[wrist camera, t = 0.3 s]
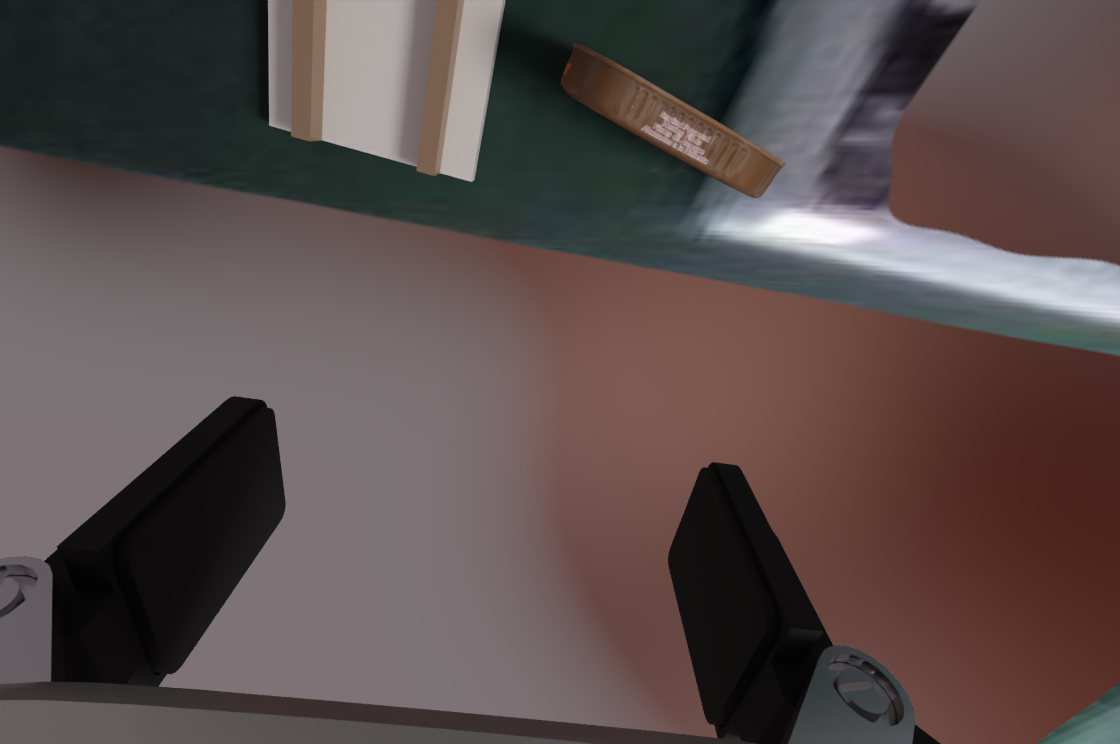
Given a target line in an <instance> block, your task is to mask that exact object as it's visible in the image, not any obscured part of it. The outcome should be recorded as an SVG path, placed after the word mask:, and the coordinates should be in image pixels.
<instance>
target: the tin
mask: <svg viewBox="0 0 1120 744" xmlns="http://www.w3.org/2000/svg"><path fill="white" fill-rule="evenodd" d="M561 85H562V86H563V88H564V90H565V91H566V92H567V94H568V95H570V96H571V97H572V98H574V99H575V100H577V101H578V102H580V103H582V104H583V105H585V106H586V107H588V108H590V109H592V110H593V111H595V112H597V113H598V114H600V115H602V116H604V117H605V118H607V119H609V120H610V121H612V122H614V123H616V124H617V125H619V126H621V127H623V128H624V129H626V130H628V131H630V132H631V133H633V134H635V135H637V136H638V137H640V138H642V139H644V140H646V141H647V142H649V143H651V144H653V145H654V146H656V147H658V148H660V149H661V150H663V151H665V152H667V153H668V154H670V155H672V156H674V157H676V158H677V159H679V160H681V161H683V162H685V163H687V164H689V165H690V166H692V167H694V168H696V169H698V170H700V171H702V172H704V173H706V174H707V175H709V176H711V177H713V178H715V179H717V180H719V181H720V182H722V183H724V184H726V185H728V186H730V187H732V188H734V189H736V190H738V191H740V192H742V193H744V194H746V195H748V196H750V197H753V198H759V197H761V196H762V194H763V193H764V192H765V191H766V189H767V188H768V186H769V185H770V183H771V182H772V180H773V179H774V177H775V176H776V174H777V173H778V171H779V170H780V169H781V168H782V167H783V166H785V162H783V161H782V160H781V159H779V158H777V157H776V156H774V155H773V154H771V153H770V152H768V151H767V150H765V149H763V148H762V147H760V146H758V145H757V144H755V143H753V142H751V141H750V140H748V139H746V138H745V137H743V136H741V135H739V134H738V133H736V132H734V131H733V130H731V129H729V128H727V127H726V126H724V125H722V124H721V123H719V122H717V121H716V120H714V119H712V118H710V117H708V116H707V115H705V114H703V113H702V112H700V111H698V110H697V109H695V108H693V107H691V106H690V105H688V104H686V103H685V102H683V101H681V100H679V99H678V98H676V97H674V96H673V95H671V94H669V93H667V92H666V91H664V90H662V89H660V88H659V87H657V86H656V85H654V84H652V83H650V82H649V81H647V80H645V79H644V78H642V77H640V76H639V75H637V74H635V73H633V72H632V71H630V70H628V69H626V68H624V67H623V66H621V65H619V64H617V63H615V62H614V61H612V60H610V59H608V58H606V57H604V56H603V55H600V54H599V53H597V52H595V51H593V50H591V49H589V48H587V47H585V46H583V45H581V44H578V43H574V44H573V51H572V53H571V56H570V58H569V61H568V63H567V65H566V68H565V70H564V73H563V75H562V78H561Z"/></svg>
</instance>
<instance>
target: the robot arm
mask: <svg viewBox="0 0 1120 744" xmlns="http://www.w3.org/2000/svg"><path fill="white" fill-rule="evenodd" d="M284 511H285V495H284V487H283V478H282V470H281V462H280V454H279V446H278V438H277V429H276V421H275V414H274V411H273V410H272V409H271V408H267V405H266V403H265V402H264V401H262V400H258V399H251V398H243V397H236V396H234V397H230V398H229V399H227V400H226V401H225V402H224V403H223V404H221V405H220V406H219V407H218V408H217V409H216V410H214V411H213V412H212V413H211V414H210V415H209V416H208V417H206V418H205V419H204V420H203V421H202V422H201V423H199V424H198V425H197V426H196V427H195V428H194V429H192V430H191V431H190V432H189V433H188V434H187V435H185V436H184V437H183V438H182V439H181V440H180V441H179V442H177V443H176V444H175V445H174V446H173V447H172V448H170V449H169V450H168V451H167V452H166V453H165V454H163V455H162V456H161V457H160V458H159V459H158V460H157V461H155V462H154V463H153V464H152V465H151V466H150V467H148V468H147V469H146V470H145V471H144V472H143V473H141V474H140V475H139V476H138V477H137V478H136V479H134V480H133V481H132V482H131V483H130V484H129V485H128V486H127V487H125V488H124V489H123V490H122V491H121V492H119V493H118V494H117V495H116V496H115V497H114V498H112V499H111V500H110V501H109V502H108V503H107V504H106V505H105V506H103V507H102V508H101V509H100V510H99V511H97V512H96V513H95V514H94V515H93V516H92V517H90V518H89V519H88V520H87V521H86V522H85V523H83V524H82V525H81V526H80V527H79V528H78V529H77V530H75V531H74V532H73V533H72V534H71V535H70V536H69V537H67V538H66V539H65V540H64V541H63V542H62V543H60V544H59V545H58V546H57V548H58V549H57V550H56V551H55V552H54V553H53V554H52V555H50V557H48V558H47V559H46V560H45V561H42V560H41V559H37V558H32V557H27V556H24V557H6V558H2V559H0V744H940V743H938V741H936V740H935V739H934V738H932V737H931V736H929V735H928V734H927V733H926V732H924V731H923V730H922V729H920V728H919V727H918V726H917V725H915V715H914V708H913V706H912V703H911V701H910V698H909V696H908V694H907V693H906V691H905V690H904V688H903V687H902V685H901V684H900V682H899V681H898V680H897V679H896V678H895V676H894V675H893V674H891V672H889V670H888V669H887V668H886V667H885V666H883V665H882V664H881V663H879V662H878V661H877V660H876V659H874V658H873V657H871V656H869V655H868V654H866V653H864V652H862V651H860V650H858V649H855V648H851V647H848V646H842V645H841V646H840V645H833V644H832V642H831V640H830V639H829V637H828V635H827V633H826V631H825V629H824V627H823V625H822V623H821V621H820V619H819V617H818V615H817V613H816V611H815V609H814V607H813V605H812V604H811V602H810V600H809V598H808V596H807V594H806V592H805V590H804V588H803V586H802V584H801V582H800V580H799V578H798V576H797V575H796V572H795V571H794V569H793V567H792V565H791V563H790V561H789V559H788V557H787V555H786V553H785V551H784V549H783V547H782V545H781V543H780V541H779V539H778V538H777V536H776V535H775V534H774V532H773V531H772V529H771V527H770V525H769V523H768V521H767V519H766V517H765V515H764V513H763V511H762V510H761V508H760V506H759V504H758V502H757V500H756V498H755V496H754V494H753V492H752V490H751V488H750V486H749V484H748V482H747V480H746V478H745V476H744V474H743V472H742V471H741V469H740V467H739V466H737V465H729V464H723V463H715V462H713V463H711V464H710V465H709V467H708V468H702V469H701V470H700V472H699V475H698V477H697V480H696V483H695V485H694V488H693V491H692V493H691V496H690V498H689V501H688V503H687V506H686V509H685V511H684V514H683V517H682V519H681V522H680V524H679V527H678V529H677V532H676V535H675V537H674V540H673V542H672V545H671V548H670V551H669V556H668V565H669V570H670V574H671V578H672V582H673V586H674V590H675V595H676V599H677V603H678V607H679V611H680V616H681V619H682V624H683V628H684V632H685V636H686V640H687V644H688V649H689V653H690V657H691V661H692V665H693V669H694V673H695V677H696V682H697V685H698V690H699V694H700V698H701V702H702V706H703V711H704V714H705V717H706V720H707V722H708V723H709V724H714V725H715V729H716V733H717V737H718V738H710V737H702V736H693V735H685V734H676V733H668V732H659V731H648V730H639V729H629V728H618V727H608V726H597V725H587V724H576V723H567V722H556V721H546V720H535V719H525V718H514V717H503V716H492V715H482V714H471V713H460V712H450V711H439V710H427V709H417V708H406V707H394V706H383V705H372V704H361V703H350V702H339V701H326V700H315V699H303V698H292V697H280V696H268V695H256V694H245V693H232V692H221V691H209V690H198V689H183V688H169V687H158V686H159V685H160V683H161V682H162V681H163V679H164V678H165V676H166V675H167V674H173V673H175V672H176V671H177V670H178V669H179V668H180V667H181V666H182V665H183V663H184V662H185V660H186V659H187V657H188V656H189V654H190V653H191V651H192V650H193V649H194V647H195V646H196V644H197V643H198V641H199V640H200V638H201V637H202V635H203V634H204V633H205V631H206V629H207V628H208V627H209V625H210V624H211V622H212V621H213V619H214V618H215V616H216V615H217V613H218V612H219V611H220V609H221V608H222V606H223V605H224V603H225V602H226V600H227V599H228V597H229V596H230V594H231V593H232V591H233V590H234V589H235V587H236V586H237V584H238V583H239V581H240V580H241V578H242V577H243V575H244V574H245V572H246V571H247V569H248V568H249V567H250V565H251V564H252V562H253V561H254V559H255V558H256V556H257V555H258V553H259V552H260V550H261V549H262V548H263V546H264V545H265V543H266V542H267V540H268V539H269V537H270V536H271V534H272V533H273V531H274V530H275V528H276V527H277V525H278V524H279V522H280V521H281V519H282V517H283V515H284Z"/></svg>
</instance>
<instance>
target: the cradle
mask: <svg viewBox="0 0 1120 744" xmlns="http://www.w3.org/2000/svg"><path fill="white" fill-rule="evenodd" d="M504 6H505V0H268V43H269V126H273V127H276V128H280V129H284V130H287V131H291V136H292V137H296V138H299V139H303V140H307V141H319V140H323V141H327V142H330V143H334V144H337V145H341V146H345V147H348V148H352V149H355V150H359V151H363V152H366V153H370V154H373V155H377V156H381V157H384V158H388V159H391V160H395V161H399V162H402V163H406V164H409V165H413V166H417V171H418V172H422V173H426V174H429V175H433V176H435V175H437V174H439V173H442V174H445V175H449V176H453V177H456V178H460V179H463V180H467V181H470V182H472V181H474V179H475V173H476V167H477V162H478V156H479V150H480V144H481V139H482V133H483V127H484V121H485V115H486V110H487V104H488V98H489V92H490V87H491V81H492V75H493V69H494V64H495V58H496V52H497V46H498V41H499V35H500V29H501V23H502V17H503V12H504Z"/></svg>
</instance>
